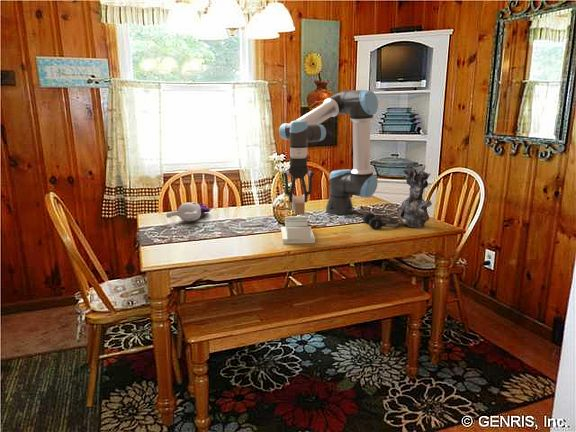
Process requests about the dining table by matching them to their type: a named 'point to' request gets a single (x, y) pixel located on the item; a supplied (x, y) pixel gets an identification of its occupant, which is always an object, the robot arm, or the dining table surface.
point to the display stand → (297, 231)
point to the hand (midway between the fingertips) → (298, 209)
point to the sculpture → (415, 199)
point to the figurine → (189, 211)
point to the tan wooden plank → (299, 205)
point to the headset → (379, 221)
